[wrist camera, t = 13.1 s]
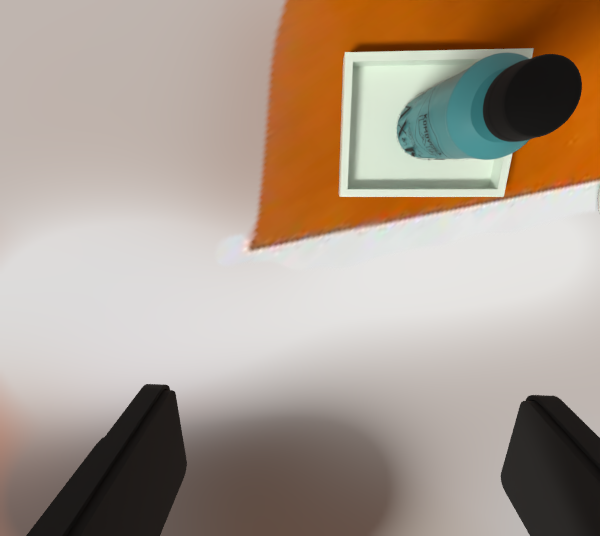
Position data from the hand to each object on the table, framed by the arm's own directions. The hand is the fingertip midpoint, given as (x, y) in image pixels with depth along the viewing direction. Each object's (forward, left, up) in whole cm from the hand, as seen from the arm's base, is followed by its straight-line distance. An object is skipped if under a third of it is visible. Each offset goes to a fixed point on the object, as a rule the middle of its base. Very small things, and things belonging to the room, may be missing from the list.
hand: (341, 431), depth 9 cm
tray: (-11, -10, -32) cm, 36 cm away
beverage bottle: (-11, -10, -32) cm, 35 cm away
